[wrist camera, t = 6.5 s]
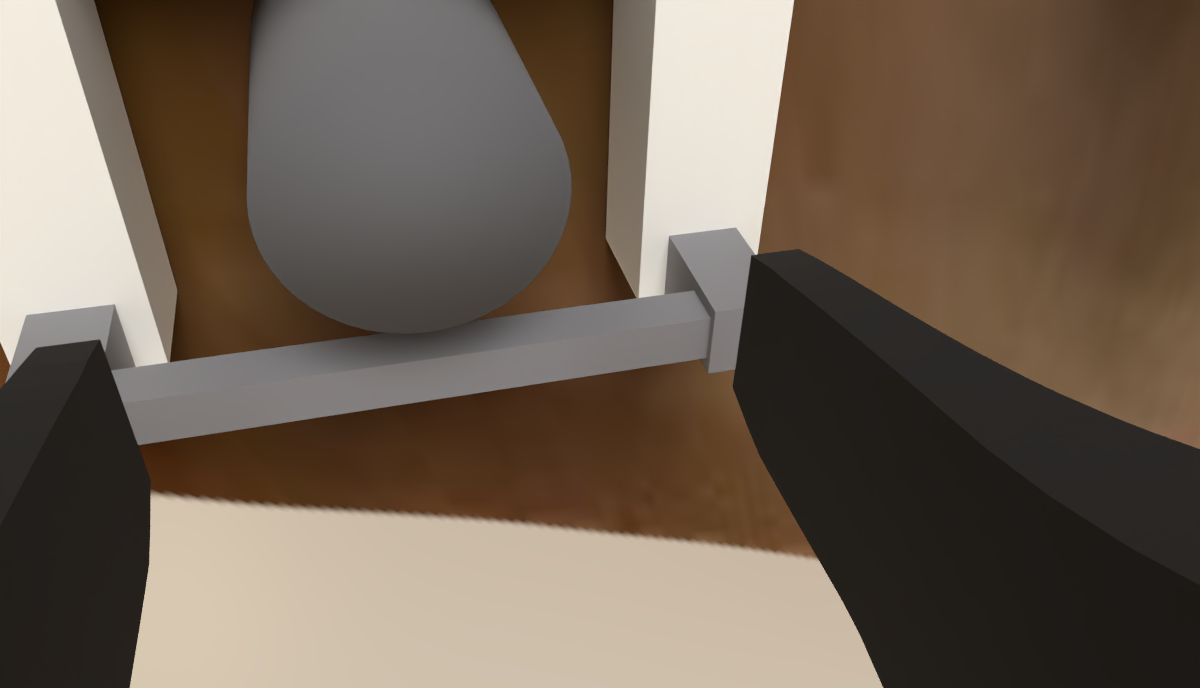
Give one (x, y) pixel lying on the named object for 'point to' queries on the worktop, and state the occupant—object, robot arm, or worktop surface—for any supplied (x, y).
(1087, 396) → the worktop surface
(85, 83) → the white frame with crossbar
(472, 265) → the grey rounded cylinder
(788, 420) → the robot arm
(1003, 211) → the worktop surface
